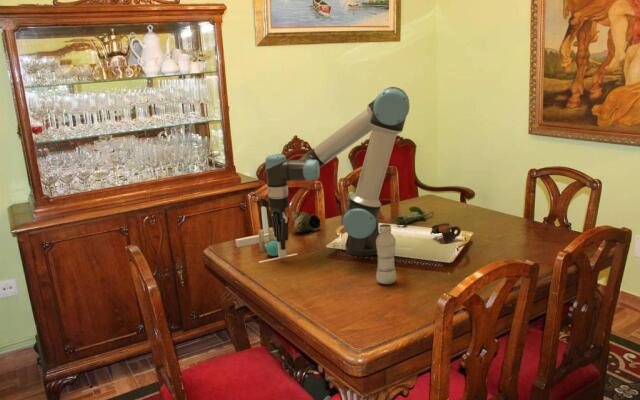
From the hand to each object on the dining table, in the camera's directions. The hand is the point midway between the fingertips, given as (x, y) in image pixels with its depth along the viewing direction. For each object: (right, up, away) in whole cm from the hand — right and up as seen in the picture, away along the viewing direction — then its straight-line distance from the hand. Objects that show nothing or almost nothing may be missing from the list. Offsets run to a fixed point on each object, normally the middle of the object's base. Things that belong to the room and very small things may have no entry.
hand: (282, 256), depth 212 cm
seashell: (+8, +7, +35) cm, 37 cm away
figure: (+57, +11, +43) cm, 72 cm away
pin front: (-5, +1, +11) cm, 12 cm away
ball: (-4, +3, +7) cm, 8 cm away
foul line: (-2, -1, +4) cm, 5 cm away
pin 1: (-9, +1, +13) cm, 16 cm away
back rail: (-12, +3, +24) cm, 28 cm away
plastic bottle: (+37, -6, -25) cm, 45 cm away
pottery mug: (+66, +5, +15) cm, 67 cm away
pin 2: (-5, +1, +15) cm, 16 cm away
